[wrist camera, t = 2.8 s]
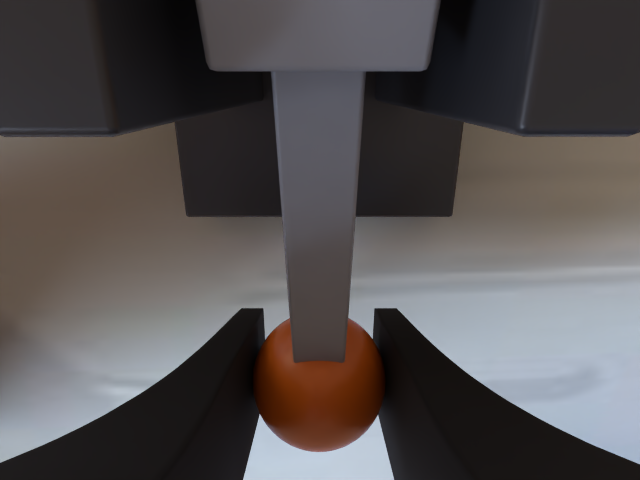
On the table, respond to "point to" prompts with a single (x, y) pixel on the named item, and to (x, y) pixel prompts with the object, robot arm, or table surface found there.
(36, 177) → the table surface
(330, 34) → the orange knob lever
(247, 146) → the housing
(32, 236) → the table surface
